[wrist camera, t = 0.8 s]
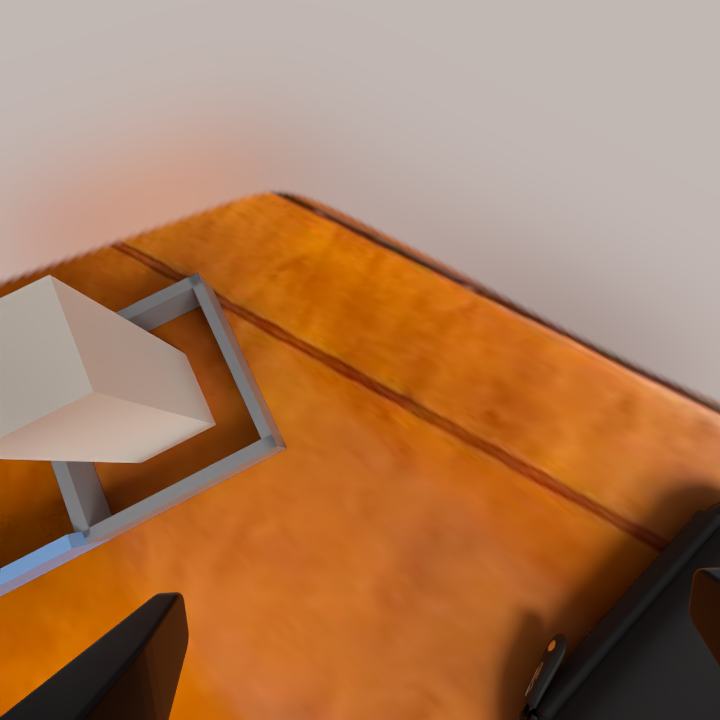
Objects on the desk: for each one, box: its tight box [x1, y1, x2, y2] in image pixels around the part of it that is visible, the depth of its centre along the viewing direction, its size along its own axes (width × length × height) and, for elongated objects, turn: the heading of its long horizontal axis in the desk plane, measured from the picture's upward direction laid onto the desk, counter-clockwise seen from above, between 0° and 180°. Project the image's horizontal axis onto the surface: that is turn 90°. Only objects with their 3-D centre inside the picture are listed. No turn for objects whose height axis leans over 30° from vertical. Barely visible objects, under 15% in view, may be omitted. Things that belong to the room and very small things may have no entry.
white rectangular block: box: [0, 275, 216, 463], centre depth 19 cm, size 4×4×10 cm
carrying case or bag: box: [519, 503, 720, 720], centre depth 18 cm, size 11×3×15 cm
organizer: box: [0, 273, 286, 596], centre depth 22 cm, size 18×9×3 cm, turn 117°
